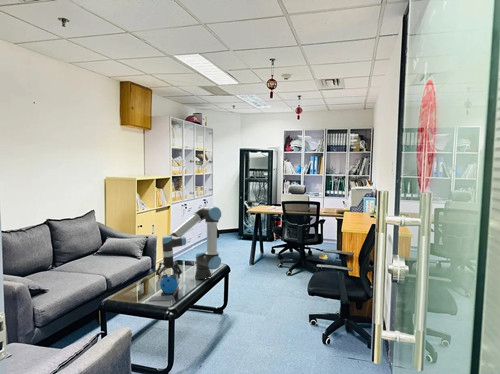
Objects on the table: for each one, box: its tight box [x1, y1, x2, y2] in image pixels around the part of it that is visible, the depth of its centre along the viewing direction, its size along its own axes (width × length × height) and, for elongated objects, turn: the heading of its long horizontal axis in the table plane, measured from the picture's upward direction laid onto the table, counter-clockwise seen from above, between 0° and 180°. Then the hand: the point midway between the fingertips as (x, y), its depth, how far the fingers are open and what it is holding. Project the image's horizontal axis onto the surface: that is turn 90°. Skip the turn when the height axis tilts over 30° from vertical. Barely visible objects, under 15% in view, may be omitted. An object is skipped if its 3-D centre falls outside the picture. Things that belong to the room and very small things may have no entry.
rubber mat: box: [148, 295, 174, 302], centre depth 250 cm, size 16×8×1 cm, turn 88°
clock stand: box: [160, 285, 180, 297], centre depth 262 cm, size 10×15×2 cm, turn 178°
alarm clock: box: [159, 273, 180, 295], centre depth 261 cm, size 13×6×15 cm, turn 89°
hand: (169, 283), depth 261 cm, fingers closed on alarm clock, 13 cm apart
